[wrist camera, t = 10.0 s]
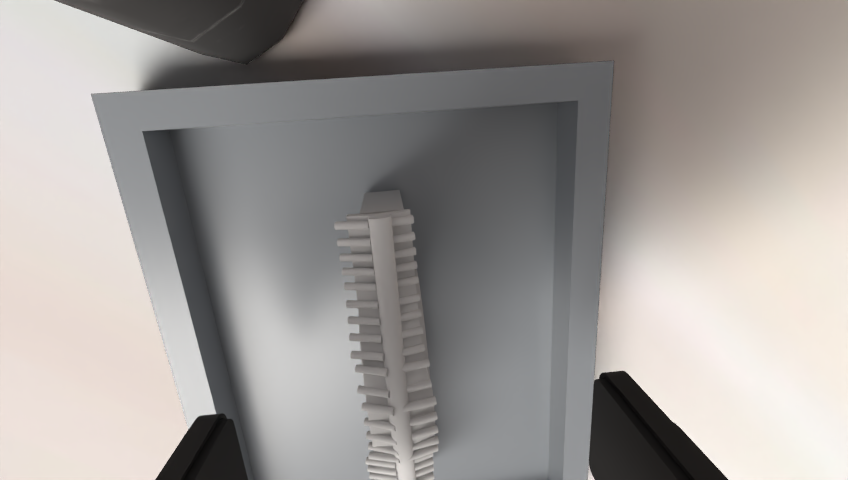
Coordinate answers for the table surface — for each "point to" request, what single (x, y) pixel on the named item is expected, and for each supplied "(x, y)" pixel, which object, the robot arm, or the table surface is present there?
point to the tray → (322, 269)
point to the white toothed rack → (390, 339)
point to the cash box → (203, 23)
